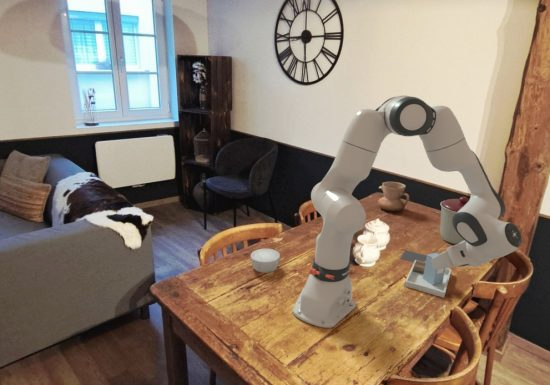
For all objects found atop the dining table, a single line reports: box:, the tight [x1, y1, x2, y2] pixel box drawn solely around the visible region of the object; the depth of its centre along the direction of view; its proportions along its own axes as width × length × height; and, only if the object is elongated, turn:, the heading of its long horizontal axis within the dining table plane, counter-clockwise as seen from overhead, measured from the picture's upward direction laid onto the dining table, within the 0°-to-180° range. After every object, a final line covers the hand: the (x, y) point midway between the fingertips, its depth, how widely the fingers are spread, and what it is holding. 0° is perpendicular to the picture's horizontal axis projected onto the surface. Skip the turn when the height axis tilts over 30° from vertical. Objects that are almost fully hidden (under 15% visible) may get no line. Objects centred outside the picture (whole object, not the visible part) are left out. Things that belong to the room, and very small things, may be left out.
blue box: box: [423, 252, 445, 286], centre depth 135 cm, size 5×4×10 cm
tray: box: [404, 260, 452, 298], centre depth 137 cm, size 18×13×3 cm
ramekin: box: [250, 248, 281, 274], centre depth 144 cm, size 11×11×5 cm
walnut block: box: [413, 260, 426, 274], centre depth 143 cm, size 5×5×2 cm
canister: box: [439, 196, 469, 245], centre depth 168 cm, size 18×18×21 cm
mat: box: [399, 249, 427, 263], centre depth 153 cm, size 9×9×1 cm
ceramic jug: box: [377, 181, 410, 212], centre depth 204 cm, size 18×14×14 cm
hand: (444, 264), depth 131 cm, fingers open, 8 cm apart
